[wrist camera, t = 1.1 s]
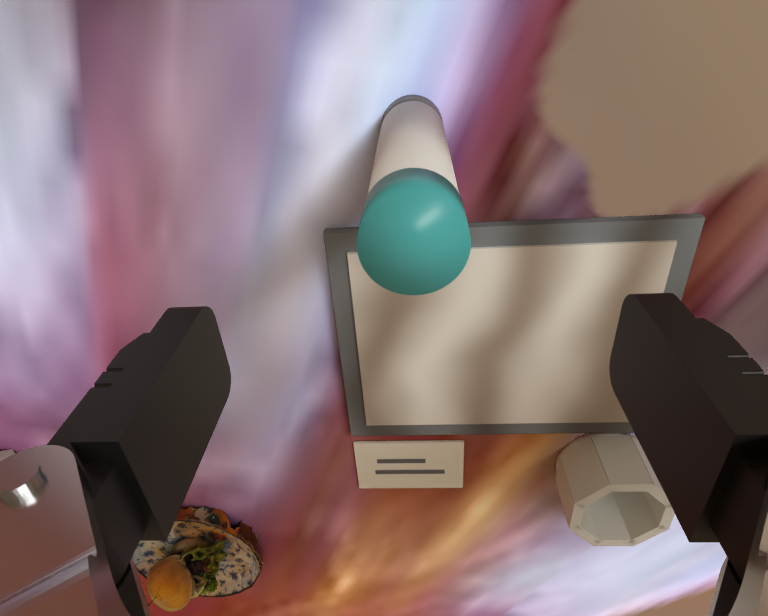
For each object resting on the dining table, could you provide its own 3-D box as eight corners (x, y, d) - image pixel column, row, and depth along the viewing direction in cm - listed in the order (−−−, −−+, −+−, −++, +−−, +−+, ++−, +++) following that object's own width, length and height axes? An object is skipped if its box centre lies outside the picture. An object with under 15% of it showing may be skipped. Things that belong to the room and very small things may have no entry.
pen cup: (656, 430, 35) (686, 484, 32) (637, 491, 39) (662, 546, 35) (560, 431, 36) (578, 484, 32) (550, 491, 39) (565, 545, 36)
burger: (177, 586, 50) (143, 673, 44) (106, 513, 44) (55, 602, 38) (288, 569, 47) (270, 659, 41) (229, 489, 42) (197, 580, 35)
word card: (353, 441, 37) (353, 444, 37) (463, 440, 37) (464, 442, 37) (359, 486, 40) (359, 488, 40) (462, 485, 40) (462, 488, 39)
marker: (443, 91, 24) (472, 188, 13) (443, 156, 26) (469, 293, 15) (378, 95, 25) (351, 194, 13) (382, 160, 26) (361, 296, 15)
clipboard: (700, 213, 27) (711, 222, 26) (639, 425, 35) (646, 439, 34) (324, 228, 28) (321, 237, 27) (351, 429, 37) (350, 442, 36)
